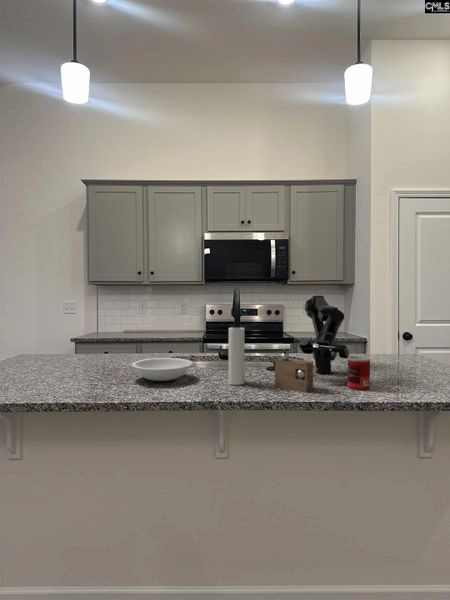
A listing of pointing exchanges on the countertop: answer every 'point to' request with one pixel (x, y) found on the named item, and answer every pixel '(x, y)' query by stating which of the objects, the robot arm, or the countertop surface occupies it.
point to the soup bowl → (162, 368)
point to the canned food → (358, 373)
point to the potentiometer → (284, 356)
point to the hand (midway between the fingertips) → (316, 367)
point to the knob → (301, 373)
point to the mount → (293, 375)
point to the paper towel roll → (236, 355)
